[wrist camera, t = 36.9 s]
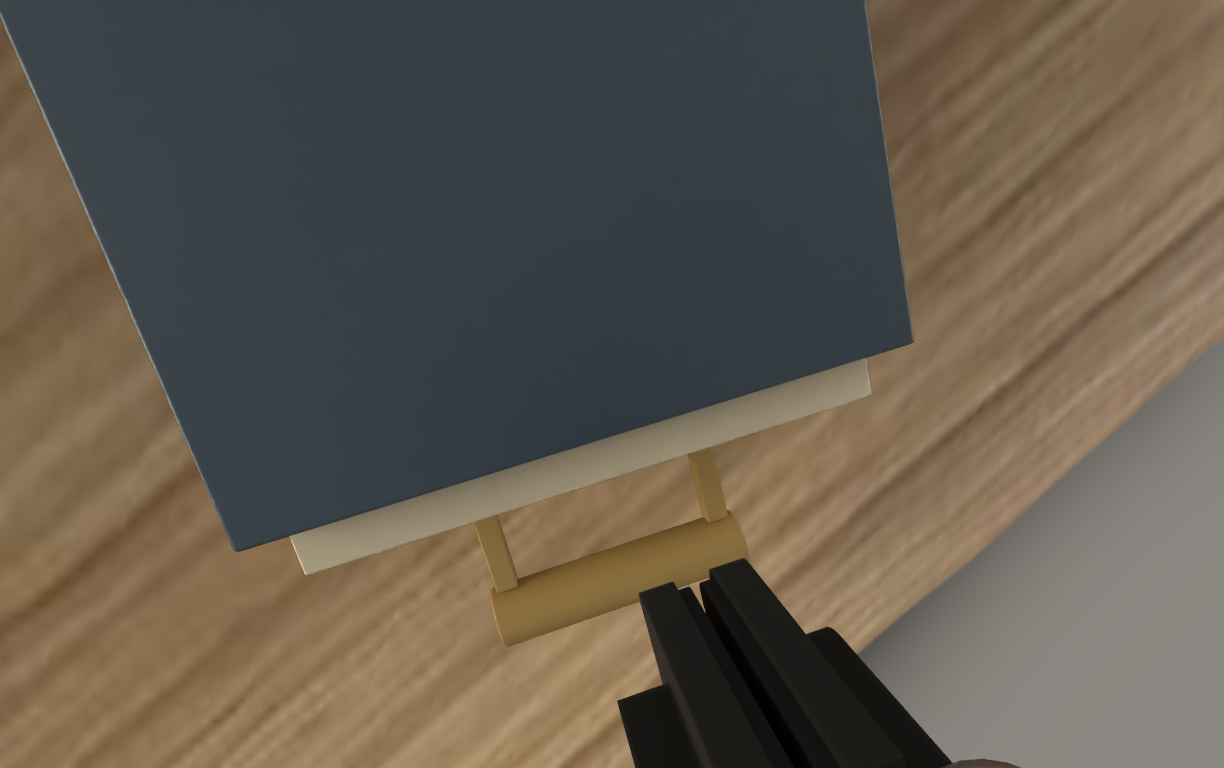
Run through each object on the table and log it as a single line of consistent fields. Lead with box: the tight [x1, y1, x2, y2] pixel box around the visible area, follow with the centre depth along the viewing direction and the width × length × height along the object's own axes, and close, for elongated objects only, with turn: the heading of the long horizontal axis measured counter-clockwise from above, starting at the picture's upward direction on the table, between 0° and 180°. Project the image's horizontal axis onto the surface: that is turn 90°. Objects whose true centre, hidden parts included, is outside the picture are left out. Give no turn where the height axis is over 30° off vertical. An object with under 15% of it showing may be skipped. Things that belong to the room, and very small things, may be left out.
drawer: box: [289, 358, 871, 647], centre depth 16 cm, size 21×13×8 cm, turn 14°
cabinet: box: [0, 0, 914, 552], centre depth 15 cm, size 17×14×10 cm
